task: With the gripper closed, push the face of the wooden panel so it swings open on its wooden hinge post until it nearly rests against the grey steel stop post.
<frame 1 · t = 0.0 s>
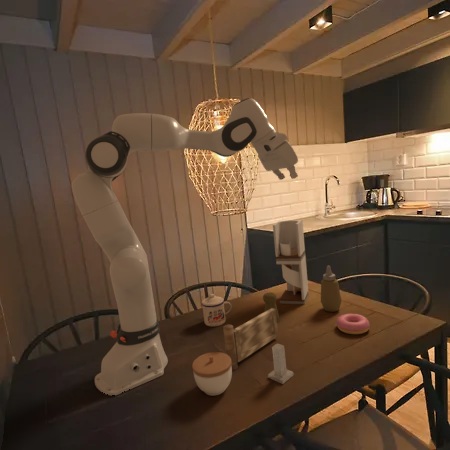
hand: (288, 178, 111), 54 cm above the table, tool tilted 30°, fingers open, 8 cm apart
cork: (272, 320, 126), on the table
hinge post: (232, 367, 98), on the table
stop post: (281, 376, 91), on the table
wooden panel: (256, 333, 105), point 6 cm above the table, hinge at 0.0°
tiered white shelf: (294, 299, 146), on the table
lidded jar: (215, 389, 89), on the table
squeeze bottle: (331, 309, 131), on the table
teacup with lid: (218, 321, 131), on the table
doughnut: (353, 329, 113), on the table
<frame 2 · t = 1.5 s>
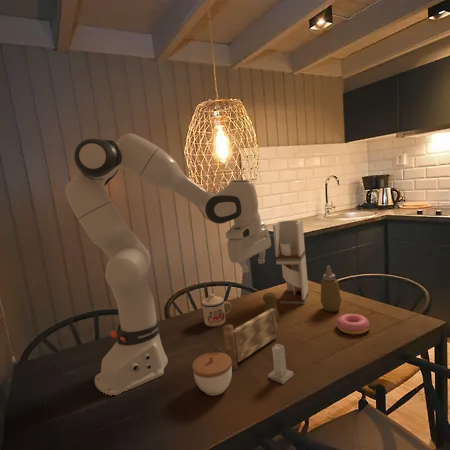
hand: (254, 267, 110), 26 cm above the table, tool pointing down, fingers open, 8 cm apart
nothing on the table moved.
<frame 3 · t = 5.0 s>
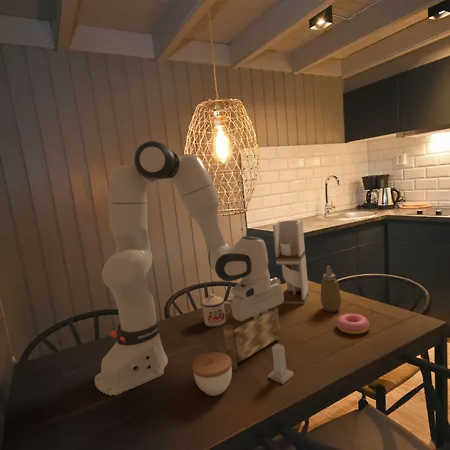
hand: (261, 323, 108), 7 cm above the table, tool pointing down, fingers closed
wooden panel: (257, 334, 104), point 6 cm above the table, hinge at 3.2°, touching gripper
everything else where it was.
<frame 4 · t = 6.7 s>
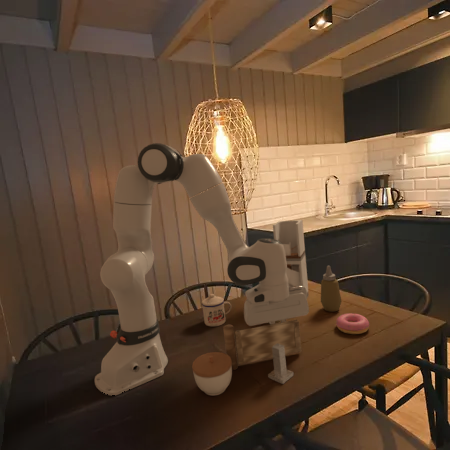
hand: (278, 332, 101), 7 cm above the table, tool pointing down, fingers closed
wooden panel: (268, 341, 99), point 6 cm above the table, hinge at 33.9°, touching gripper
everything else where it was.
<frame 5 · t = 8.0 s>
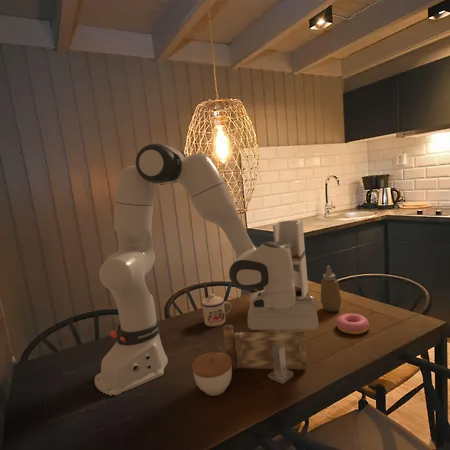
hand: (284, 342, 95), 7 cm above the table, tool pointing down, fingers closed, pressing on wooden panel
wooden panel: (270, 349, 94), point 6 cm above the table, hinge at 56.2°, touching gripper
everything else where it was.
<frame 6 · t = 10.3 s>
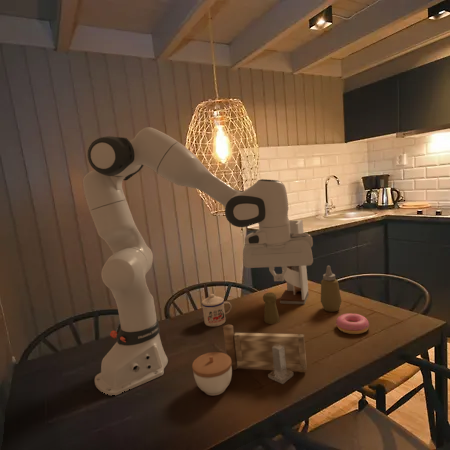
hand: (279, 280, 95), 25 cm above the table, tool pointing down, fingers closed
wooden panel: (269, 350, 93), point 6 cm above the table, hinge at 59.6°
everything else where it was.
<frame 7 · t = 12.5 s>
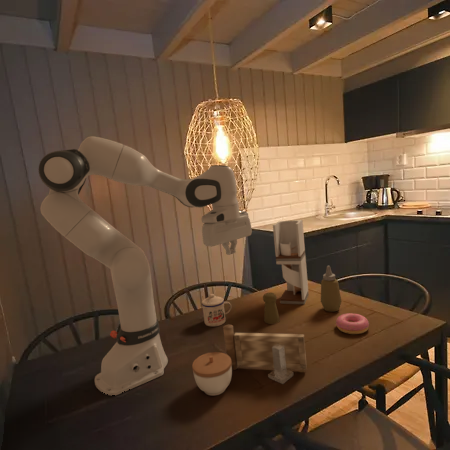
hand: (230, 253, 110), 31 cm above the table, tool pointing down, fingers closed
nothing on the table moved.
at the end: wooden panel at +60° (first picture: +0°); the gripper is holding nothing; cork moved 0.2 cm from its start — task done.
